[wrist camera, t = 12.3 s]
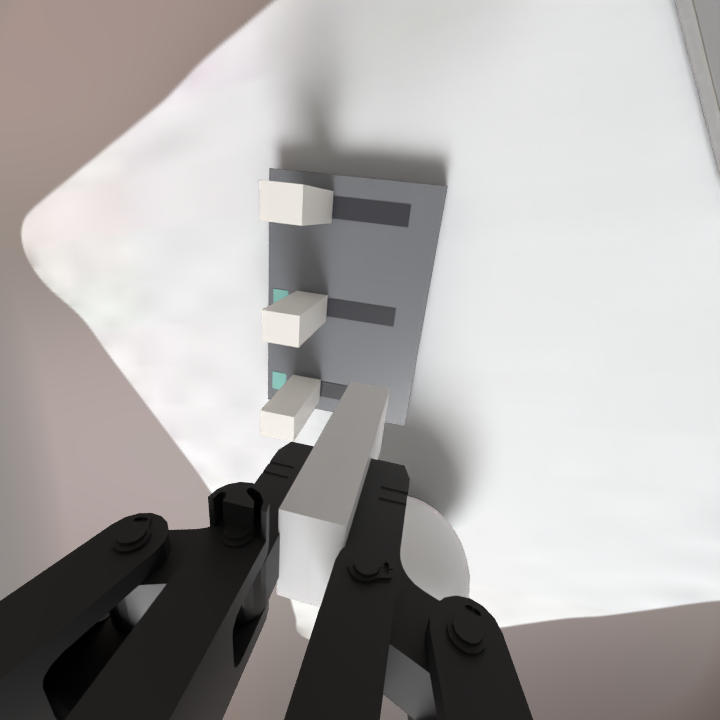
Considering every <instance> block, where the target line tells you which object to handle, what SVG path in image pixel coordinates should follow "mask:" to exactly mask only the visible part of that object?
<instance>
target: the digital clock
mask: <svg viewBox="0 0 720 720" xmlns="http://www.w3.org/2000/svg"><path fill="white" fill-rule="evenodd" d="M675 3H676V7H677V11H678V15H679V19H680V23H681V27H682V31H683V34H684V38H685V42H686V46H687V50H688V54H689V58H690V62H691V66H692V70H693V74H694V78H695V82H696V85H697V89H698V93H699V97H700V101H701V105H702V109H703V113H704V117H705V121H706V125H707V129H708V133H709V136H710V140H711V144H712V148H713V152H714V156H715V160H716V164H717V167H718V171H719V175H720V0H675Z"/></svg>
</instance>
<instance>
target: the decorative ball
mask: <svg viewBox="0 0 720 720" xmlns="http://www.w3.org/2000/svg"><path fill="white" fill-rule="evenodd" d="M400 559H401V563H402V566H403V568H404V570H405V572H406V574H407V576H408V577H409V578H410V579H411V580H412V581H413V583H414V584H415V585H417V586H418V587H419V588H421V589H422V590H423V591H425V592H426V593H428V594H430V595H431V596H433V597H434V598H436V599H438V600H439V601H440V600H442V599H443V598H444V597H450V596H456V595H457V596H461V597H466V598H469V582H470V574H469V568H468V563H467V559H466V555H465V552H464V549H463V546H462V544H461V542H460V539H459V537H458V536H457V534H456V532H455V531H454V529H453V528H452V526H451V525H450V523H449V522H448V521H447V520H446V519H445V518H444V517H443V516H442V515H441V514H440V513H439V512H438V511H437V510H436V509H434V508H433V507H431V506H430V505H428V504H427V503H425V502H423V501H421V500H419V499H416V498H413V497H410V496H407V503H406V511H405V518H404V526H403V534H402V541H401V549H400Z"/></svg>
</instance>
